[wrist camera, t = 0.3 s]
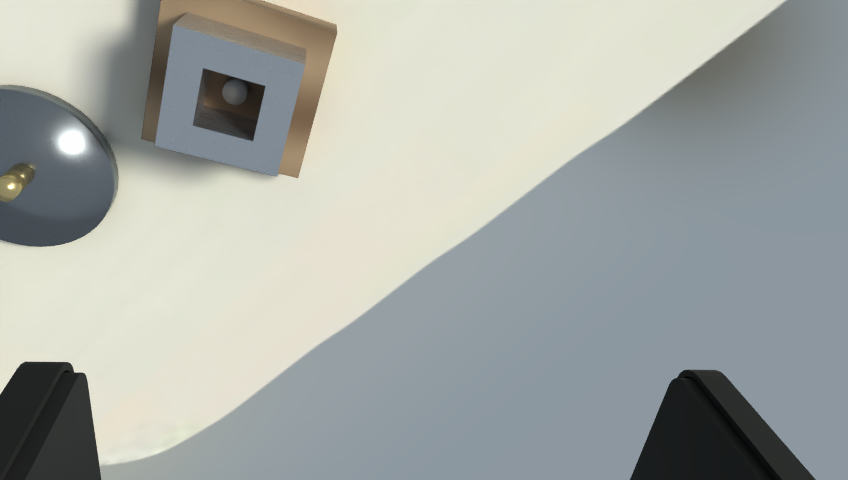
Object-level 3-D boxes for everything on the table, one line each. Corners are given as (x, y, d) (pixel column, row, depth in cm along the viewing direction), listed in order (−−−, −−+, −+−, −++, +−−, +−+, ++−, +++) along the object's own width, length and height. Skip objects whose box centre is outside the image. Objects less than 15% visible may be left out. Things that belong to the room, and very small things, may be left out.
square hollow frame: (187, 11, 36) (173, 24, 32) (306, 48, 38) (305, 64, 34) (169, 123, 39) (154, 146, 35) (280, 152, 41) (277, 176, 37)
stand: (173, -29, 37) (158, -21, 33) (336, 24, 40) (337, 37, 36) (150, 126, 41) (134, 147, 38) (299, 164, 44) (297, 187, 40)
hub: (-67, 62, 37) (-106, 79, 34) (127, 112, 40) (109, 133, 37) (-64, 218, 42) (-99, 247, 39) (109, 252, 45) (91, 282, 42)
